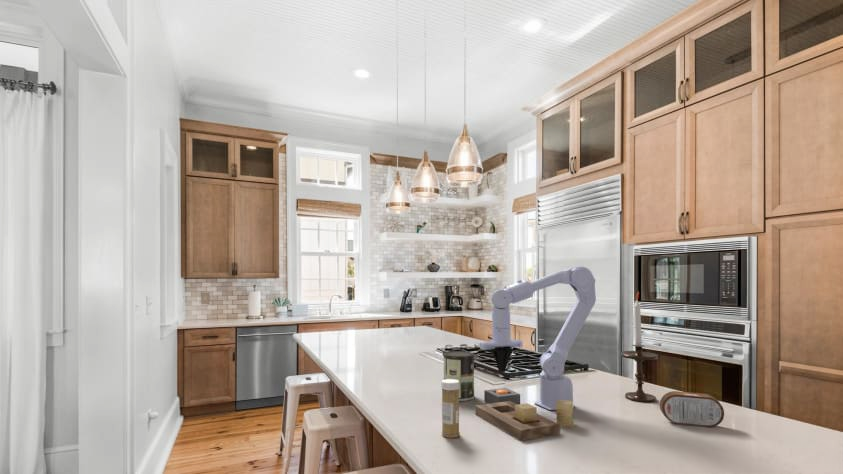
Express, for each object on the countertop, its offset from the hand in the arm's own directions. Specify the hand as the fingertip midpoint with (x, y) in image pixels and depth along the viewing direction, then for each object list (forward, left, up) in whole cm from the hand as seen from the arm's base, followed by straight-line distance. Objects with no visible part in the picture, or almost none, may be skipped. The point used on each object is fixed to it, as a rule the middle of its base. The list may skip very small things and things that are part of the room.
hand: (501, 371), depth 139 cm
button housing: (0, 0, -10) cm, 10 cm away
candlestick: (-45, +12, -10) cm, 48 cm away
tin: (-37, +36, -10) cm, 53 cm away
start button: (0, 0, -8) cm, 8 cm away
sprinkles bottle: (+27, +18, -10) cm, 34 cm away
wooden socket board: (+7, +17, -10) cm, 21 cm away
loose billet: (-5, +23, -10) cm, 25 cm away
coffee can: (+9, -12, -10) cm, 18 cm away
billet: (+7, +22, -10) cm, 25 cm away
